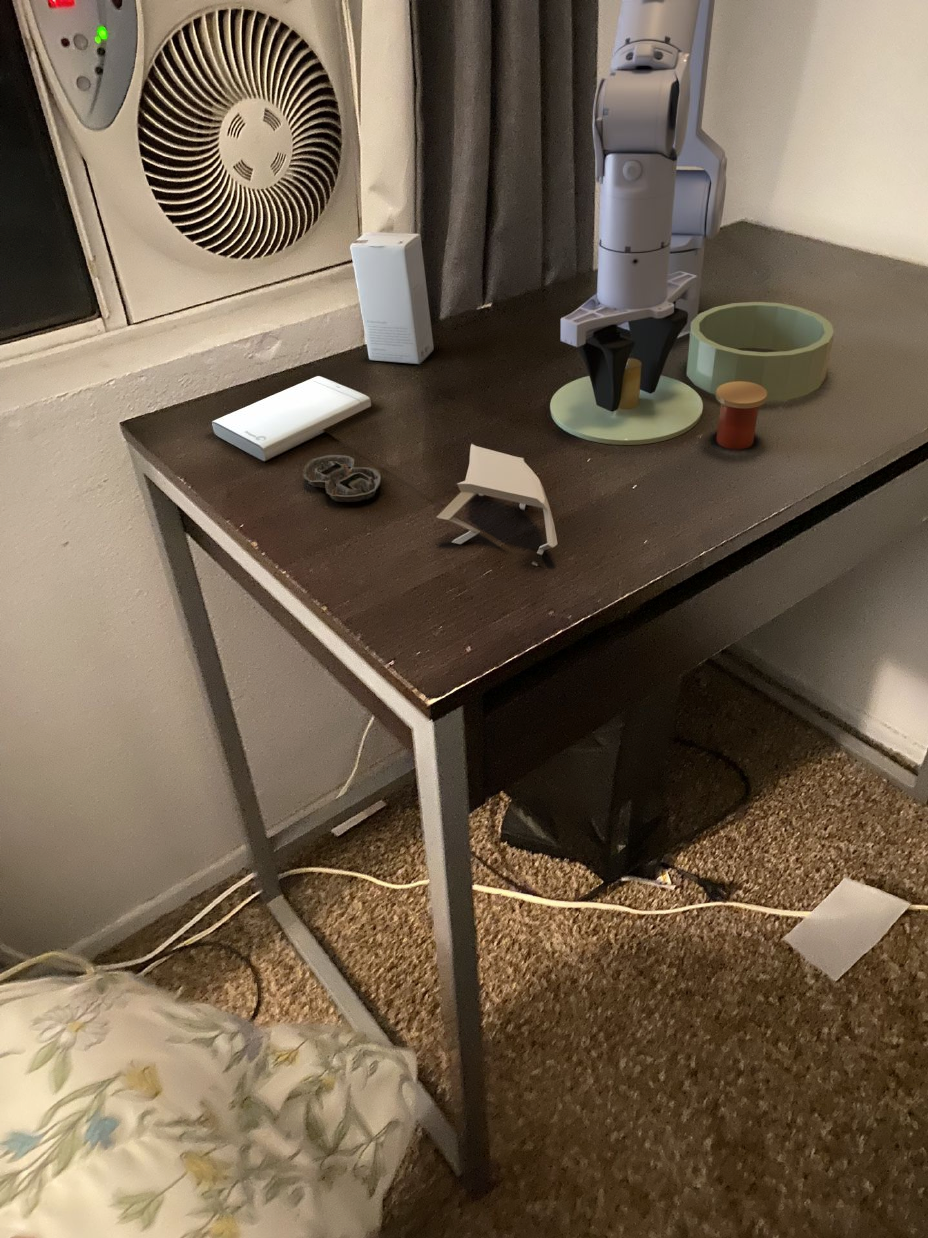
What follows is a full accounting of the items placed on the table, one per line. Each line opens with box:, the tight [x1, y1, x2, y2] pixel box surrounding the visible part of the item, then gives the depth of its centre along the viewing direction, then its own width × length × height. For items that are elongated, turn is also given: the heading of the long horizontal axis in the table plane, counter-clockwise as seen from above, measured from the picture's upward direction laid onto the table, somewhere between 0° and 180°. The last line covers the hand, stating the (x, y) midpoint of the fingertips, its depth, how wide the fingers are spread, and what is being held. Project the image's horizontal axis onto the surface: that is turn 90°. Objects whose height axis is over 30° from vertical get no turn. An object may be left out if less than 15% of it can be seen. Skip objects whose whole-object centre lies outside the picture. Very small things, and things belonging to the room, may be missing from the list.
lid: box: [549, 357, 704, 446], centre depth 81 cm, size 14×14×5 cm
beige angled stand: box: [435, 443, 558, 567], centre depth 67 cm, size 12×8×5 cm
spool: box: [715, 381, 767, 450], centre depth 75 cm, size 4×4×5 cm
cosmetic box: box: [349, 231, 435, 365], centre depth 92 cm, size 6×4×12 cm
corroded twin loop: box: [302, 454, 382, 503], centre depth 75 cm, size 5×8×1 cm, turn 45°
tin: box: [686, 301, 835, 403], centre depth 85 cm, size 13×13×5 cm
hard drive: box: [211, 375, 372, 462], centre depth 85 cm, size 2×8×12 cm
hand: (625, 398), depth 81 cm, fingers open, 4 cm apart
